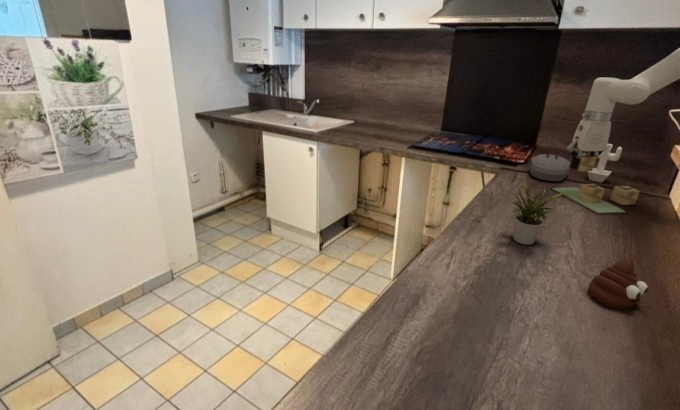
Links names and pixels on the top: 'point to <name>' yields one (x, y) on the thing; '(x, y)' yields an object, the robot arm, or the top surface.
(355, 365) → the top surface
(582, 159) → the letter L
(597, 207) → the word mat
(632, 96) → the robot arm
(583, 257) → the top surface
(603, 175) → the figurine
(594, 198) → the letter I
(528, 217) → the house plant
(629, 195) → the letter T
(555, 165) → the small grey backpack
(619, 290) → the poop emoji
